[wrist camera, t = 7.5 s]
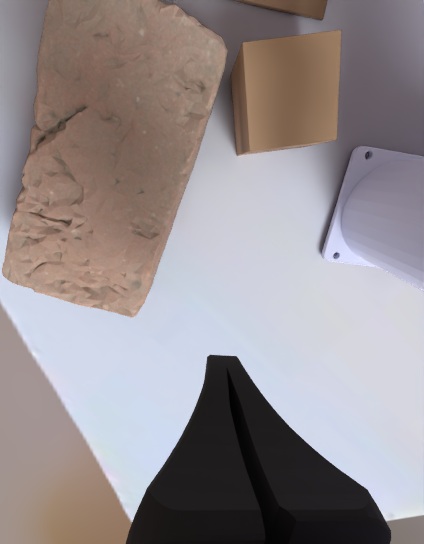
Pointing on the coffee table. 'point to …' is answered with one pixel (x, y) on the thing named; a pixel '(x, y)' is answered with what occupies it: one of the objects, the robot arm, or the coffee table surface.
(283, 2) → the board
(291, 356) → the coffee table surface
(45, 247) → the brick
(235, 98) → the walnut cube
